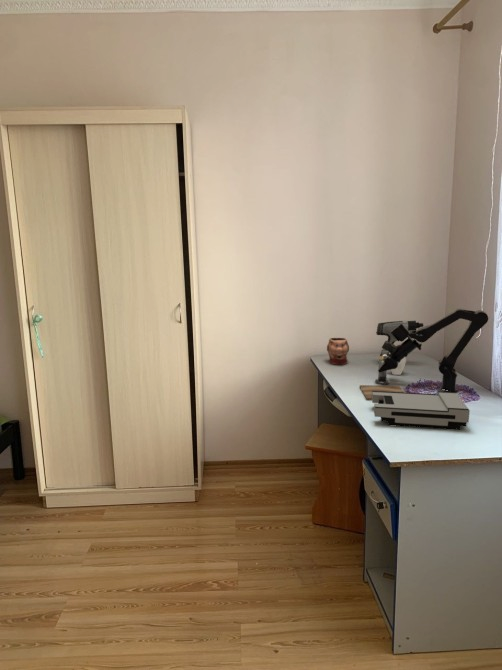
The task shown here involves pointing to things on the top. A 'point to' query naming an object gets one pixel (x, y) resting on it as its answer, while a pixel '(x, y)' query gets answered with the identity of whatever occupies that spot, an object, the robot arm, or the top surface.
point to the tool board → (369, 388)
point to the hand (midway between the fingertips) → (379, 369)
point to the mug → (400, 367)
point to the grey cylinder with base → (382, 373)
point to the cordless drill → (389, 326)
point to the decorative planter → (338, 350)
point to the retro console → (421, 409)
